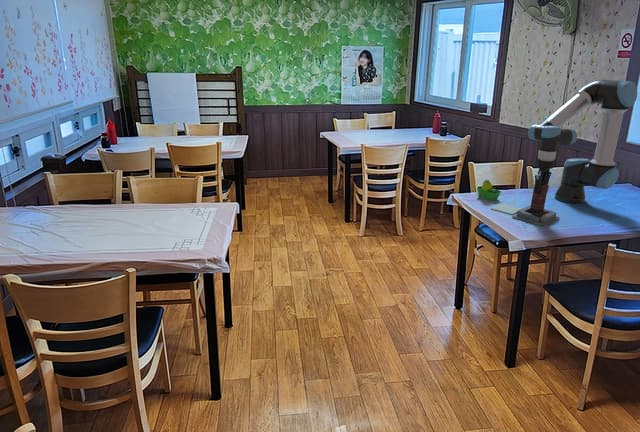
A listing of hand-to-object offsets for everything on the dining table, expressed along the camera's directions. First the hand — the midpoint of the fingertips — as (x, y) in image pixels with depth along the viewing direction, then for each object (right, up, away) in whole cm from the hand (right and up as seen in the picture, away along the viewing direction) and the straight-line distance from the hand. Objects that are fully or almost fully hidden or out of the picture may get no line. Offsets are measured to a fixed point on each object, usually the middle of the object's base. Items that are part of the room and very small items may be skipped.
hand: (537, 206), depth 223 cm
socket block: (0, -6, +2) cm, 6 cm away
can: (0, -3, +1) cm, 3 cm away
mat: (-9, -1, +15) cm, 17 cm away
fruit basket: (-13, +5, +33) cm, 36 cm away
